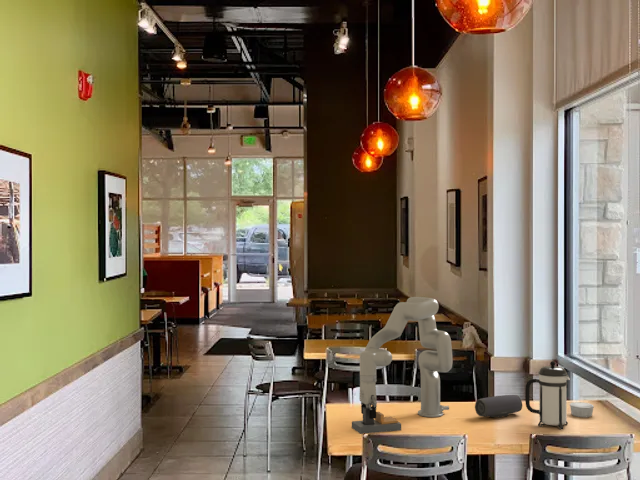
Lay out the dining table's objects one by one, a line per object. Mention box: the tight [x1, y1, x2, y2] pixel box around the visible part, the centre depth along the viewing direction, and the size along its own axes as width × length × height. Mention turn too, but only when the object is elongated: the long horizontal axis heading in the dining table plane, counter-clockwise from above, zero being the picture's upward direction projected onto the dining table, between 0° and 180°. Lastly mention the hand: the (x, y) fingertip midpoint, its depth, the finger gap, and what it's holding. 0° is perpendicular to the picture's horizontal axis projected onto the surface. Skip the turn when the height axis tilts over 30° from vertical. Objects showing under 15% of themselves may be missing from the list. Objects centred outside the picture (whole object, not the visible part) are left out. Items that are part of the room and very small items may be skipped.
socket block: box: [351, 418, 402, 435], centre depth 328 cm, size 20×11×3 cm, turn 108°
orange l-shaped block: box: [374, 411, 399, 424], centre depth 329 cm, size 8×8×4 cm
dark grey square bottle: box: [362, 404, 375, 425], centre depth 326 cm, size 4×4×12 cm
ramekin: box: [569, 401, 595, 418], centre depth 353 cm, size 11×11×5 cm
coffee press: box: [524, 361, 571, 431], centre depth 333 cm, size 17×16×30 cm
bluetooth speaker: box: [474, 394, 523, 418], centre depth 351 cm, size 23×9×10 cm, turn 115°
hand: (368, 415), depth 327 cm, fingers open, 9 cm apart
